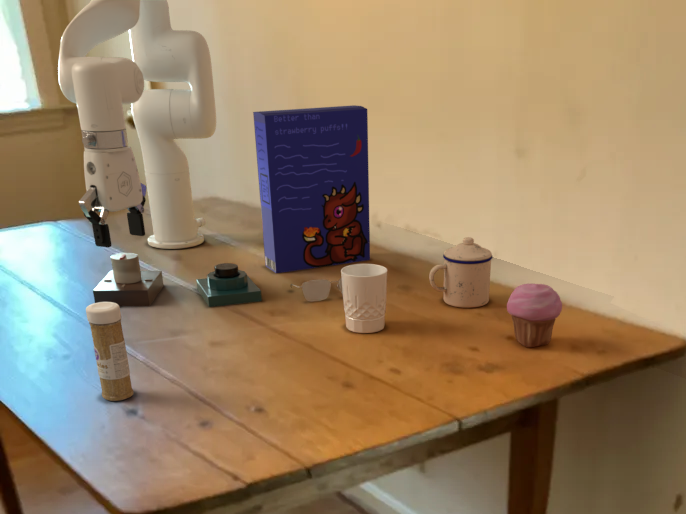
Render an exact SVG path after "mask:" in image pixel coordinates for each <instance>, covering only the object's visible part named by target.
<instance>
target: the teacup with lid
mask: <svg viewBox="0 0 686 514" xmlns="http://www.w3.org/2000/svg"><path fill="white" fill-rule="evenodd" d="M442 258H443V260H444V261H443V263H440V264H436V265H434V266H433V267H432V268H431V269H430V271H429V275H428V279H429V283H430V285H431V287H432V288H433V289H434V290H435V291H436V292H441V293H443V302H444V303H445V304H446V305H449V306H451V307H455V308H463V309H473V308H478V307H482V306H486V305H487V304H488V303H489V301H490V291H491V289H490V288H491V269H492V259H493V253H492V251H491V250H489V249H488V248H486V247H482V246H481V245H479V244H478V243H475V239H474V238H473V237H471V236H470V237H469V236H468V237H464V238H463V239H462V242H461V243H458V244H456V245H455V246H452V247H449V248H447V249H445V250H444V252H443V254H442ZM440 270H443V286H438V285H437V284H436V282H435V274H436V273H437V272H438V271H440Z"/></svg>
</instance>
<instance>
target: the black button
mask: <svg viewBox="0 0 686 514" xmlns="http://www.w3.org/2000/svg"><path fill="white" fill-rule="evenodd" d="M213 267H214V271H215V277H217V278H234V277H237V276H239V273H238V270H239V265H238V264H236V263H233V262H232V263H231V262H224V263H218V264H215V265H214V266H213Z"/></svg>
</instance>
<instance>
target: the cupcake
mask: <svg viewBox="0 0 686 514" xmlns="http://www.w3.org/2000/svg"><path fill="white" fill-rule="evenodd" d="M562 310H563V301H562V300H561V297H560V295H559V293H558V291H556V290H555V289H554V288H553V287H552V286H550V285H548V284H545V283H529V282H528V283H523V284H520V285H518V286H516V287H515V288H514V290H513V291H512V292H511V293H510V296H509V297H508V301H507V302H506V311H507V313H508V314H509V315H510V316H511V319H512V324H513V331H514V335H515V340H516V341H517V342H518V343H519V344H521V345H522V346H523V347H526V348H534V347H538V346H544V345H548V344H549V343H550V342H551V340H552V335H553V329H554V325H555V322H556V319H557V318H558V317H559V316H560V315H561V312H562Z"/></svg>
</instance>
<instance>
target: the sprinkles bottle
mask: <svg viewBox="0 0 686 514" xmlns="http://www.w3.org/2000/svg"><path fill="white" fill-rule="evenodd" d="M120 307H121V306H119V305H118V304H116V303H113V302H98V303H95V302H93V303H91V304H89V305H87V306H86V308H85V315H86V320H87V321H88V324H89V326H90V332H91V338H92V343H93V350H94V351H93V352H94V356H95V361H96V368H97V373H98V377H99V382H100V388H101V396H102V398H103V399H104V400H106V401H110V402H117V401H118V402H120V401H124V400H126V399H129V398H131V397H132V396H134V389H133V386H132V380H131V375H130V374H131V370H130V365H129V364H130V363H129V357H128V353H127V345H126V340H125V337H124V332H123V326H122V312H121V308H120Z"/></svg>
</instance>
